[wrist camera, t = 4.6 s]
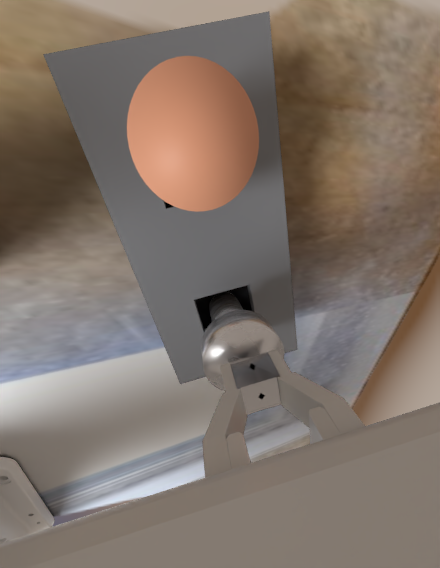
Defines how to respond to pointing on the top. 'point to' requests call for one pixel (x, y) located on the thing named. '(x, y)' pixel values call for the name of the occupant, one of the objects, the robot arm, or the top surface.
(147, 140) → the mushroom push button
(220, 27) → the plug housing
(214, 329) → the grey mushroom plug
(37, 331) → the top surface
